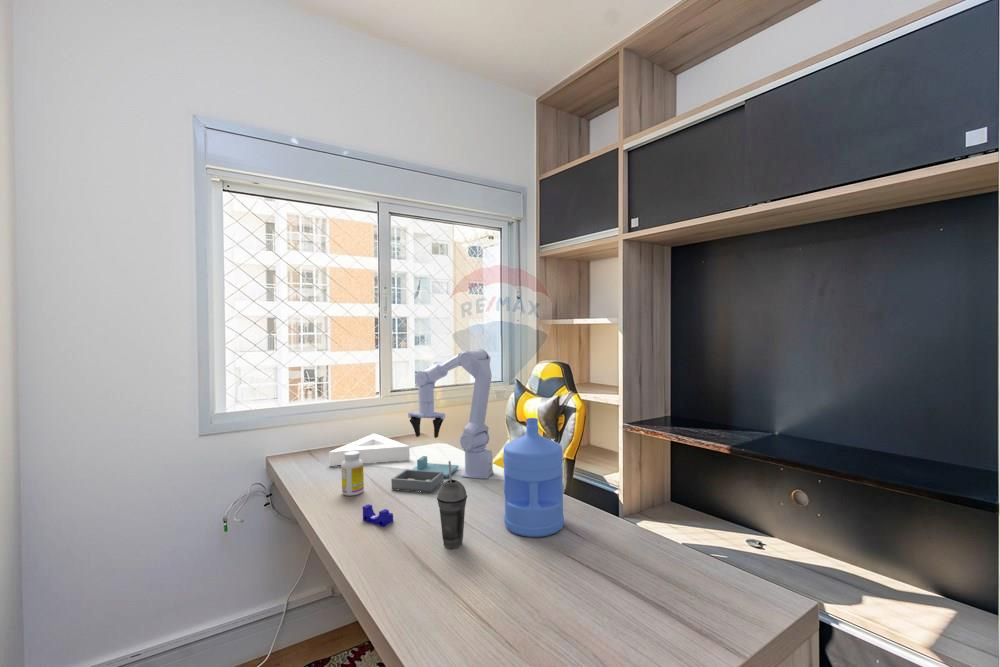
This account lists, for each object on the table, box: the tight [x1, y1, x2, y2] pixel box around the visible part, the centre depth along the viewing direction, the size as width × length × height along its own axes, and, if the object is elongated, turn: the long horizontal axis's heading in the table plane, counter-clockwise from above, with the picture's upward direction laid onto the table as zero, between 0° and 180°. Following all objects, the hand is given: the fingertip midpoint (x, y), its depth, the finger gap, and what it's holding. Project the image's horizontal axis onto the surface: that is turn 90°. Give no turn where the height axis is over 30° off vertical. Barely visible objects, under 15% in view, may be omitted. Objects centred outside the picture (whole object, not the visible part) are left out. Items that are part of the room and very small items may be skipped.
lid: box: [411, 455, 459, 478], centre depth 165 cm, size 15×11×5 cm
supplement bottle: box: [340, 451, 365, 497], centre depth 146 cm, size 7×7×13 cm
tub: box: [391, 469, 445, 494], centre depth 151 cm, size 14×10×4 cm
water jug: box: [502, 417, 565, 538], centre depth 120 cm, size 16×16×28 cm
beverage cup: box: [436, 460, 468, 549], centre depth 110 cm, size 7×7×20 cm
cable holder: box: [362, 504, 394, 528], centre depth 125 cm, size 8×4×4 cm, turn 58°
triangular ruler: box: [328, 433, 411, 466], centre depth 190 cm, size 30×26×6 cm
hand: (427, 436), depth 175 cm, fingers open, 7 cm apart
